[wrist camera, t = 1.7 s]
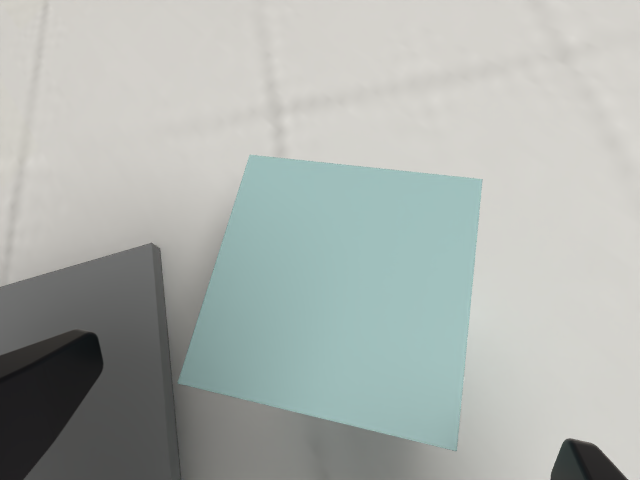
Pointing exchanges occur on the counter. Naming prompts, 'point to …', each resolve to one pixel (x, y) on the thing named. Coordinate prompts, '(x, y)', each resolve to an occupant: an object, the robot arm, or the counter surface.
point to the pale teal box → (343, 297)
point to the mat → (105, 365)
